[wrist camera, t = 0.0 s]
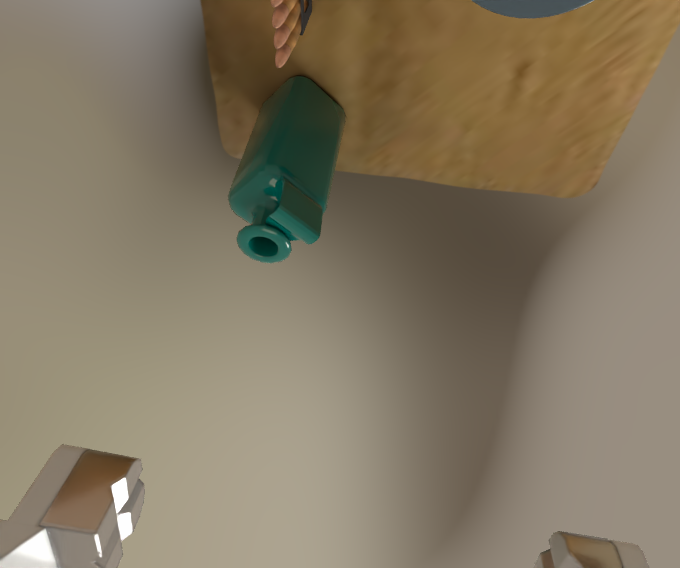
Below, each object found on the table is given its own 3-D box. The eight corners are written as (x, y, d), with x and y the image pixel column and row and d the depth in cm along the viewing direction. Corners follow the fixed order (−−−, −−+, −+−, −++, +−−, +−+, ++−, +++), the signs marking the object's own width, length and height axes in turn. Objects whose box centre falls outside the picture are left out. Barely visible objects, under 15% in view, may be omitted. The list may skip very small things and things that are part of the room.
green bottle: (307, 152, 70) (270, 287, 57) (255, 109, 66) (202, 244, 53) (361, 109, 64) (333, 249, 51) (307, 59, 60) (261, 197, 47)
